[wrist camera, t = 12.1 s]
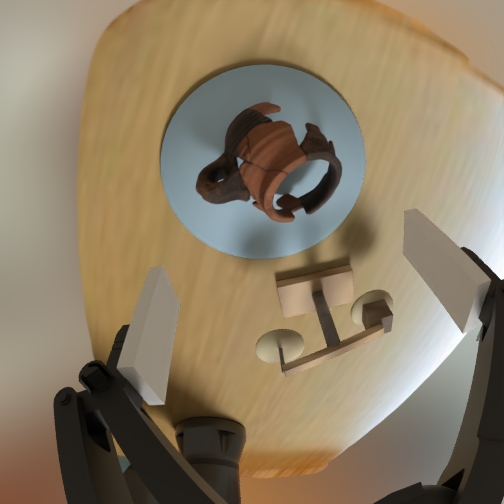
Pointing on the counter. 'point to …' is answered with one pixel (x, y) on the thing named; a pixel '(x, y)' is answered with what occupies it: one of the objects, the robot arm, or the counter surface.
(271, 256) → the plate
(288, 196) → the pottery mug
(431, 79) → the counter surface
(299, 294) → the balance
